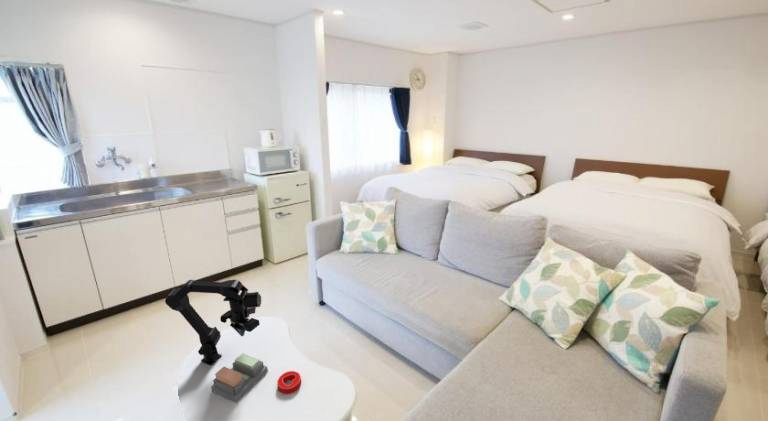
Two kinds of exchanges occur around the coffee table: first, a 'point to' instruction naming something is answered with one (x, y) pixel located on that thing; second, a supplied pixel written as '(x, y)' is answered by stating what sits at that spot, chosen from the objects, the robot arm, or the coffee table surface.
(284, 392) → the decorative ornament
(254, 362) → the sage button
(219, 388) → the button panel
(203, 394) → the coffee table surface
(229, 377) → the orange brown block
